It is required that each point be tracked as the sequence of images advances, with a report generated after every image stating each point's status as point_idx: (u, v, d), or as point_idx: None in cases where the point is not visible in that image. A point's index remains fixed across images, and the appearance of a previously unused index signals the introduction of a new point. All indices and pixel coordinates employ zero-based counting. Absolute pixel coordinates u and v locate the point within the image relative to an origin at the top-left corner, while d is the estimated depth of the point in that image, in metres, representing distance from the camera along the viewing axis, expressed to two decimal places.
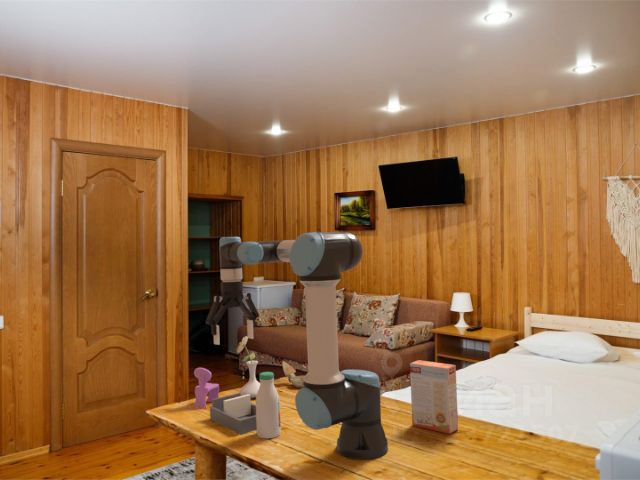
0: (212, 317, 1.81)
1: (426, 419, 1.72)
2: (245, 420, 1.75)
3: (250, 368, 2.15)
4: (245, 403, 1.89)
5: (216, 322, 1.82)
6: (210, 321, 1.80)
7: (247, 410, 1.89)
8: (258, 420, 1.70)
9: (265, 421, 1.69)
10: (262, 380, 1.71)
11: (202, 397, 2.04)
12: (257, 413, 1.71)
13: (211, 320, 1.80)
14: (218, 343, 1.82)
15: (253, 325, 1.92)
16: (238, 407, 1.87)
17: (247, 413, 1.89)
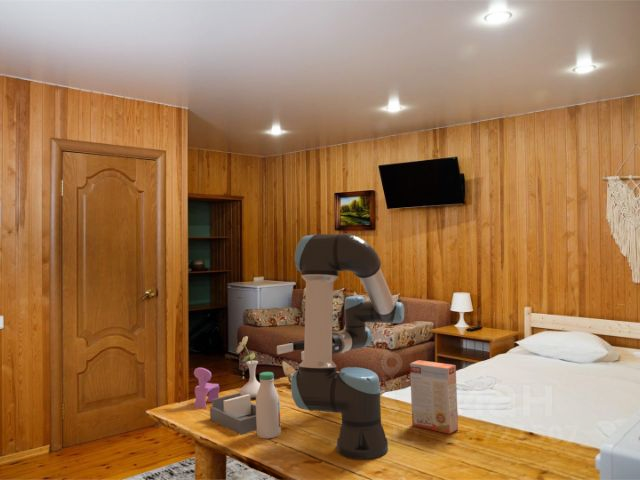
0: (295, 341, 1.92)
1: (426, 419, 1.72)
2: (245, 420, 1.75)
3: (250, 368, 2.15)
4: (245, 403, 1.89)
5: (294, 342, 1.89)
6: None
7: (247, 410, 1.89)
8: (258, 420, 1.70)
9: (265, 421, 1.69)
10: (262, 380, 1.71)
11: (202, 397, 2.04)
12: (257, 413, 1.71)
13: None
14: (278, 346, 1.84)
15: None
16: (238, 407, 1.87)
17: (247, 413, 1.89)
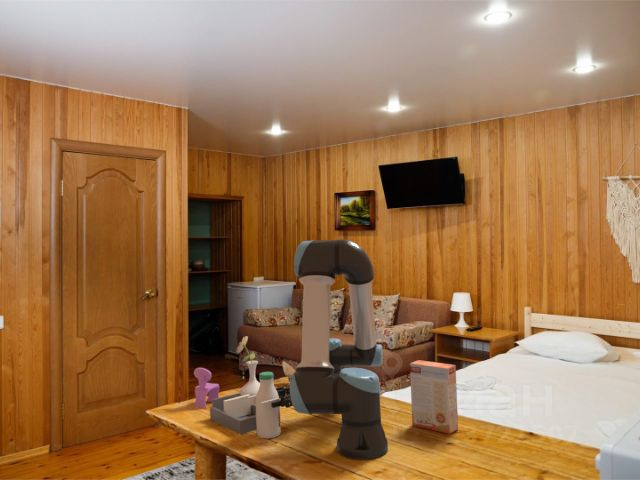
0: None
1: (426, 419, 1.72)
2: (245, 420, 1.75)
3: (250, 368, 2.15)
4: (245, 403, 1.89)
5: None
6: None
7: (247, 410, 1.89)
8: (258, 420, 1.70)
9: (265, 421, 1.69)
10: (262, 380, 1.71)
11: (202, 397, 2.04)
12: (257, 413, 1.71)
13: None
14: (248, 397, 1.73)
15: (275, 402, 1.69)
16: (238, 407, 1.87)
17: (247, 413, 1.89)
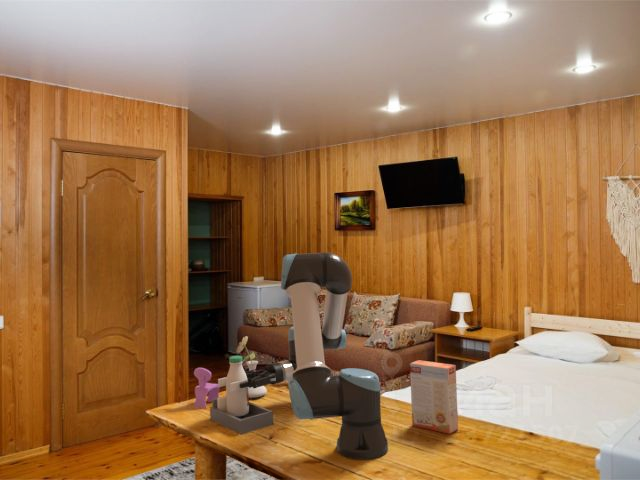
0: None
1: (426, 419, 1.72)
2: (245, 420, 1.75)
3: (250, 368, 2.15)
4: None
5: None
6: None
7: None
8: (228, 400, 1.85)
9: (234, 401, 1.84)
10: (231, 363, 1.86)
11: (202, 397, 2.04)
12: (227, 393, 1.85)
13: None
14: (219, 379, 1.88)
15: (243, 383, 1.83)
16: None
17: None
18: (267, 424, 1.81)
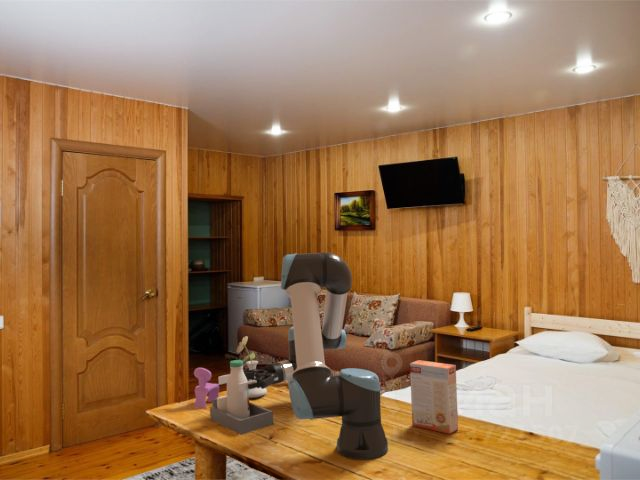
0: None
1: (426, 419, 1.72)
2: (245, 420, 1.75)
3: (250, 368, 2.15)
4: None
5: None
6: None
7: None
8: (228, 404, 1.85)
9: (234, 405, 1.84)
10: (232, 367, 1.85)
11: (202, 397, 2.04)
12: (227, 398, 1.85)
13: None
14: (219, 376, 1.91)
15: (251, 383, 1.82)
16: None
17: None
18: (267, 424, 1.81)
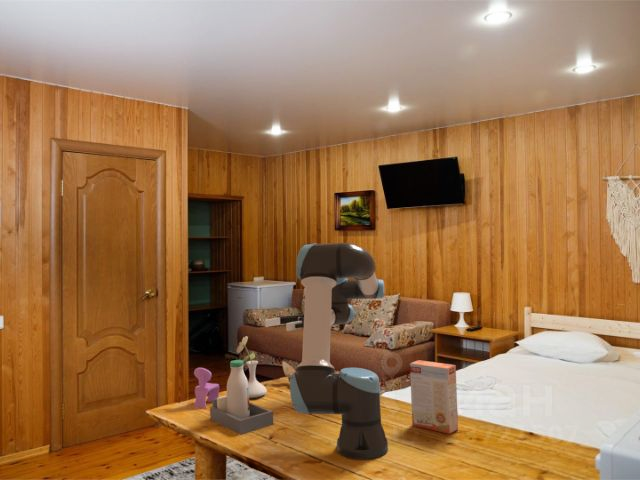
0: (282, 316, 2.06)
1: (426, 419, 1.72)
2: (245, 420, 1.75)
3: (250, 368, 2.15)
4: None
5: (281, 317, 2.04)
6: (279, 316, 2.06)
7: None
8: (228, 404, 1.85)
9: (234, 405, 1.84)
10: (232, 367, 1.85)
11: (202, 397, 2.04)
12: (227, 398, 1.85)
13: (280, 316, 2.06)
14: None
15: (298, 323, 1.91)
16: None
17: None
18: (267, 424, 1.81)
